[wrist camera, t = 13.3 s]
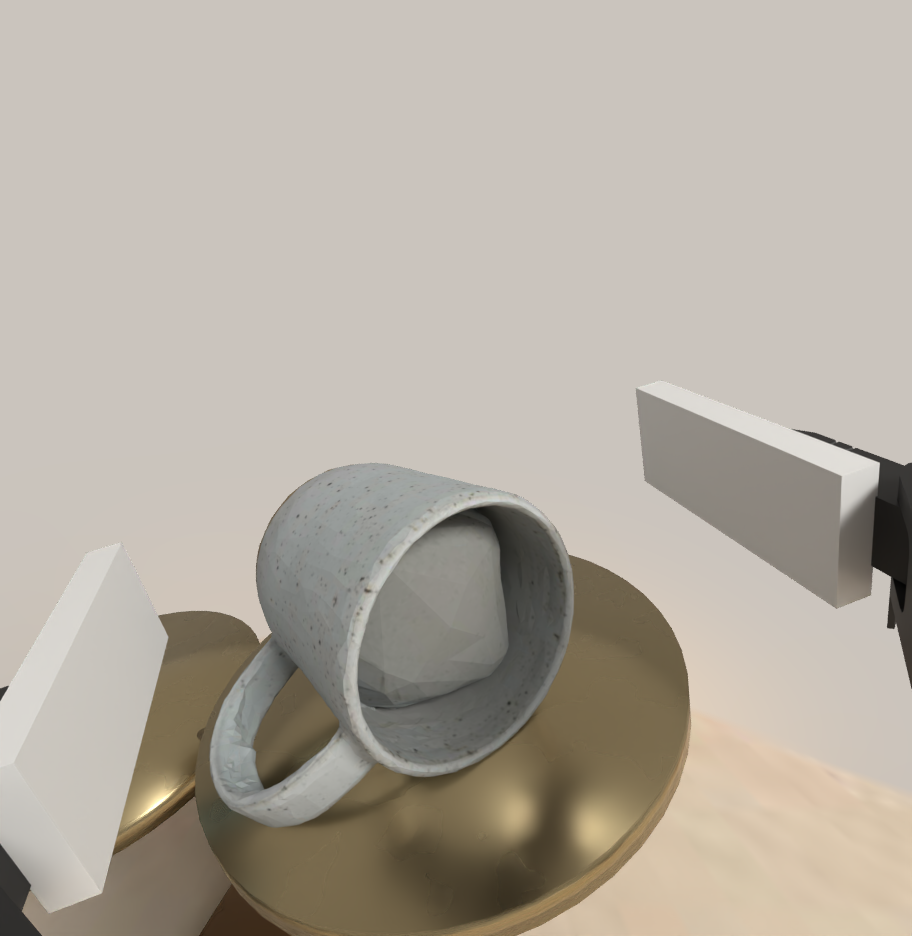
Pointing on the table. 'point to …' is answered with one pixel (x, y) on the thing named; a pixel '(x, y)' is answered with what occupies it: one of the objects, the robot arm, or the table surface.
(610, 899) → the table surface
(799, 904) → the table surface
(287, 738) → the balance
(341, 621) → the ceramic mug
